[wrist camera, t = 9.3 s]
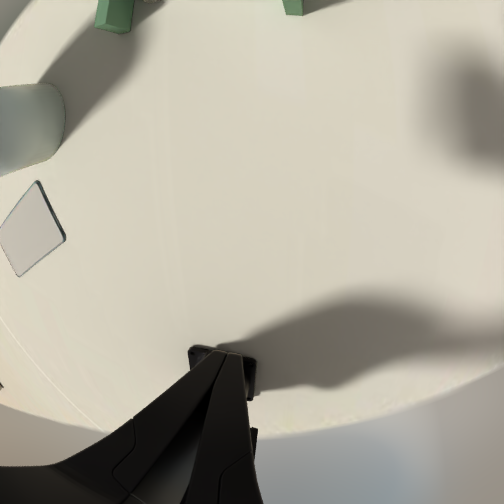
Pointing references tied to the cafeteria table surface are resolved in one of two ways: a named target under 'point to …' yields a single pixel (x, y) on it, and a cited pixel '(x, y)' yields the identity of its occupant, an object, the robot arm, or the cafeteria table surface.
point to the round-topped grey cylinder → (29, 125)
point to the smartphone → (30, 230)
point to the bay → (121, 7)
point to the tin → (151, 1)
